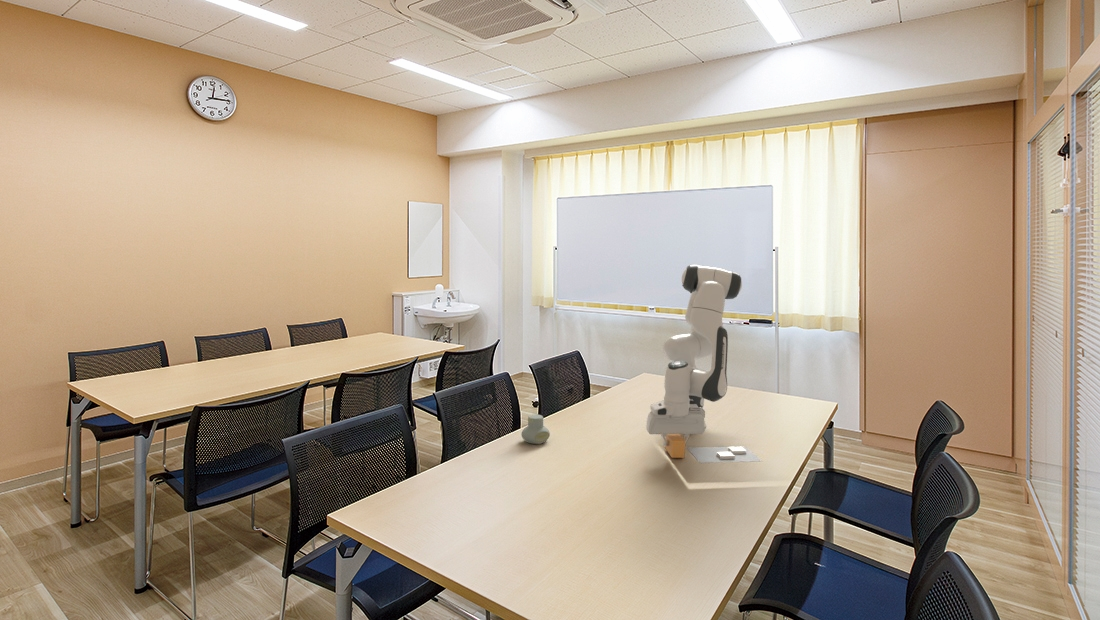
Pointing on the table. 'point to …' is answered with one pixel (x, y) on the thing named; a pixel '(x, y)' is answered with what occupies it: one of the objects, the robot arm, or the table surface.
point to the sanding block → (675, 445)
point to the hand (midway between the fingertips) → (674, 445)
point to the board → (711, 456)
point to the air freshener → (535, 430)
